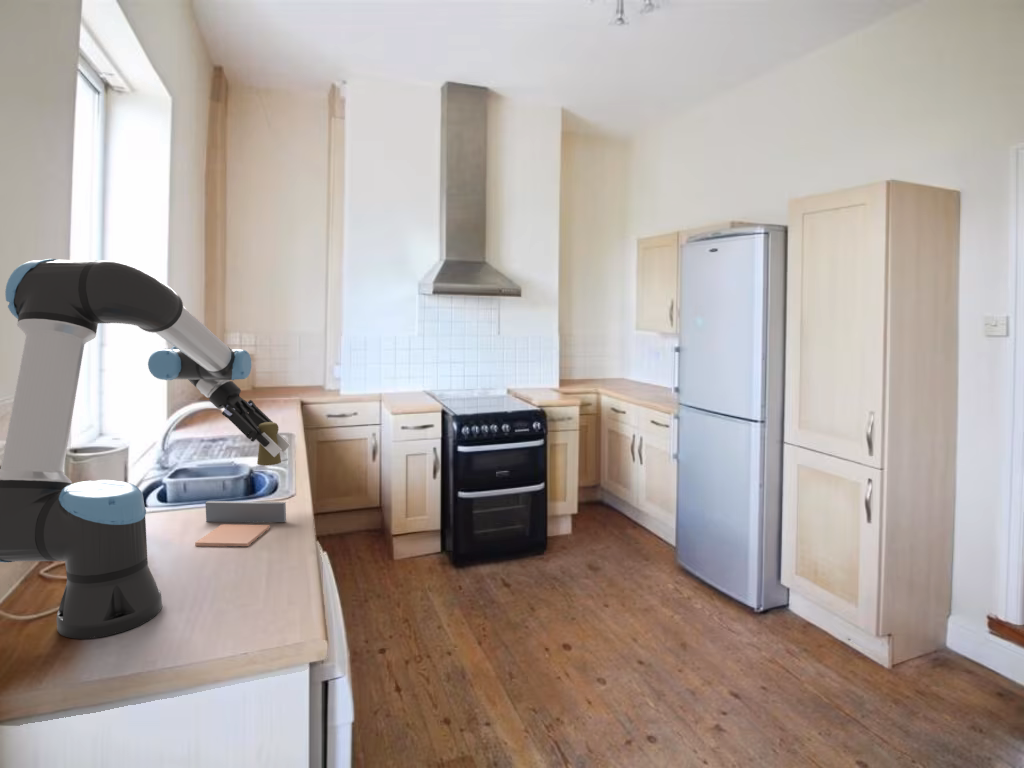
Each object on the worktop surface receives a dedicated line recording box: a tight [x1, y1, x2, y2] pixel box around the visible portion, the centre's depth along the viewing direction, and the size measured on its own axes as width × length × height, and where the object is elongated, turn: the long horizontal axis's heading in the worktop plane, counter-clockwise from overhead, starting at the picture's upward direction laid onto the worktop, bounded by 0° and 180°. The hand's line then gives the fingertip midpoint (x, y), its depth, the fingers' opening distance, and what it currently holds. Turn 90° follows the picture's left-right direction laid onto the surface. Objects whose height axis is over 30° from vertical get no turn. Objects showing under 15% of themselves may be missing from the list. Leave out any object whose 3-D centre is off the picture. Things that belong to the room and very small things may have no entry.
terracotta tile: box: [194, 523, 271, 547], centre depth 141 cm, size 12×12×1 cm
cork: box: [256, 421, 282, 466], centre depth 160 cm, size 6×6×11 cm
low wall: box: [204, 500, 287, 523], centre depth 152 cm, size 1×20×5 cm, turn 89°
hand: (282, 450), depth 160 cm, fingers closed on cork, 5 cm apart
